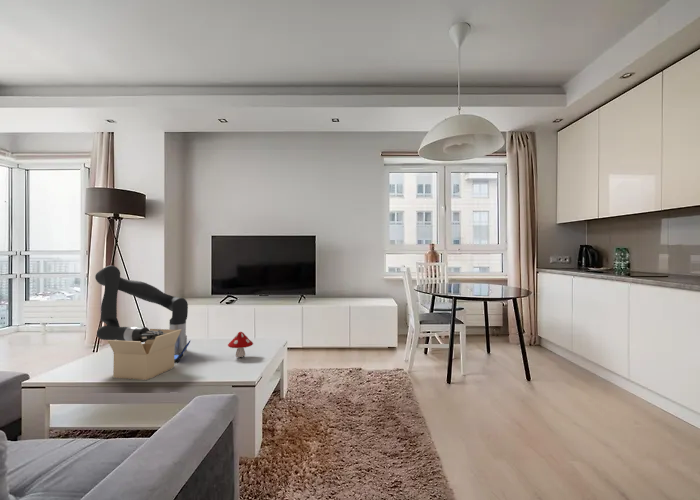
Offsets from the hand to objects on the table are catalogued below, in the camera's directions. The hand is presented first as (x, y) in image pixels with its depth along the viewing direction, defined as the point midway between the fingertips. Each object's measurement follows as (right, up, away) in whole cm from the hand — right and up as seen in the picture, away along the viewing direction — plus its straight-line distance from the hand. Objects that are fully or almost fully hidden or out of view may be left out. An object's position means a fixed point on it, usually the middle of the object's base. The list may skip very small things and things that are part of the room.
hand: (167, 335), depth 180 cm
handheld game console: (-8, -20, +26) cm, 34 cm away
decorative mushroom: (+27, -20, +29) cm, 45 cm away
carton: (-12, -19, +2) cm, 22 cm away
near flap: (-1, -2, 0) cm, 3 cm away
